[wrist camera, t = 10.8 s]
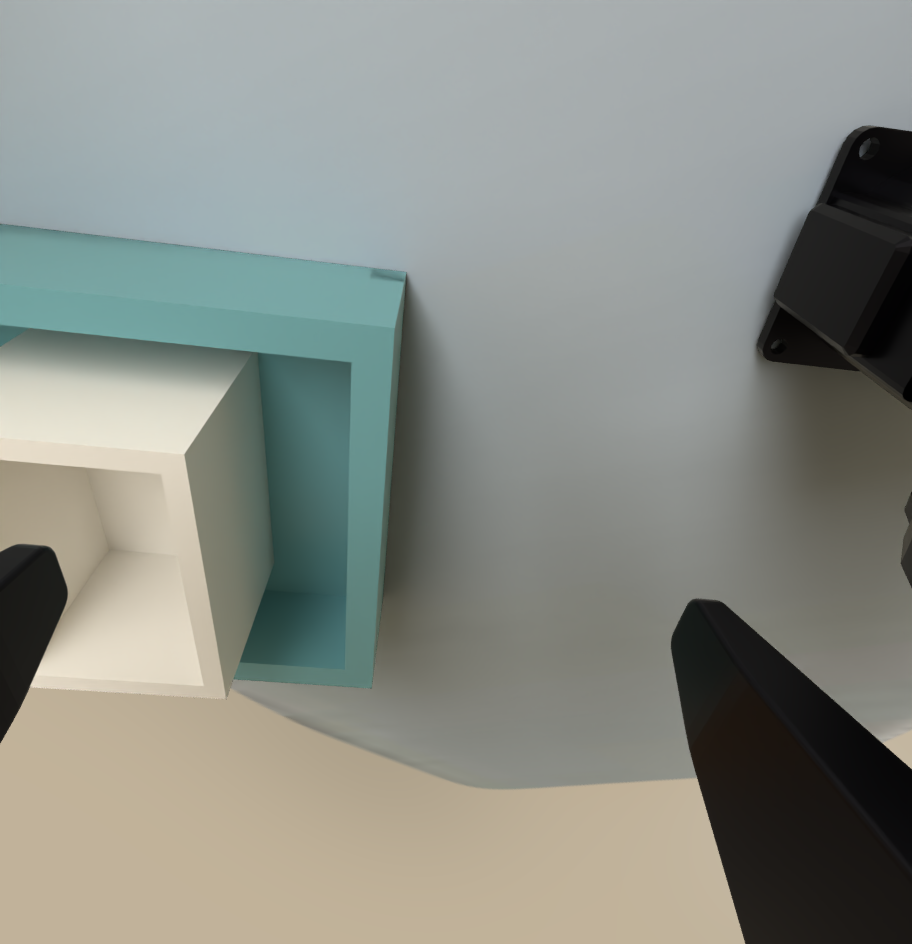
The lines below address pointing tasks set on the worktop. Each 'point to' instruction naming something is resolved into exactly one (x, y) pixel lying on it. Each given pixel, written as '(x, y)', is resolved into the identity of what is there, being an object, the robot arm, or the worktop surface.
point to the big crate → (283, 408)
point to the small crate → (138, 505)
